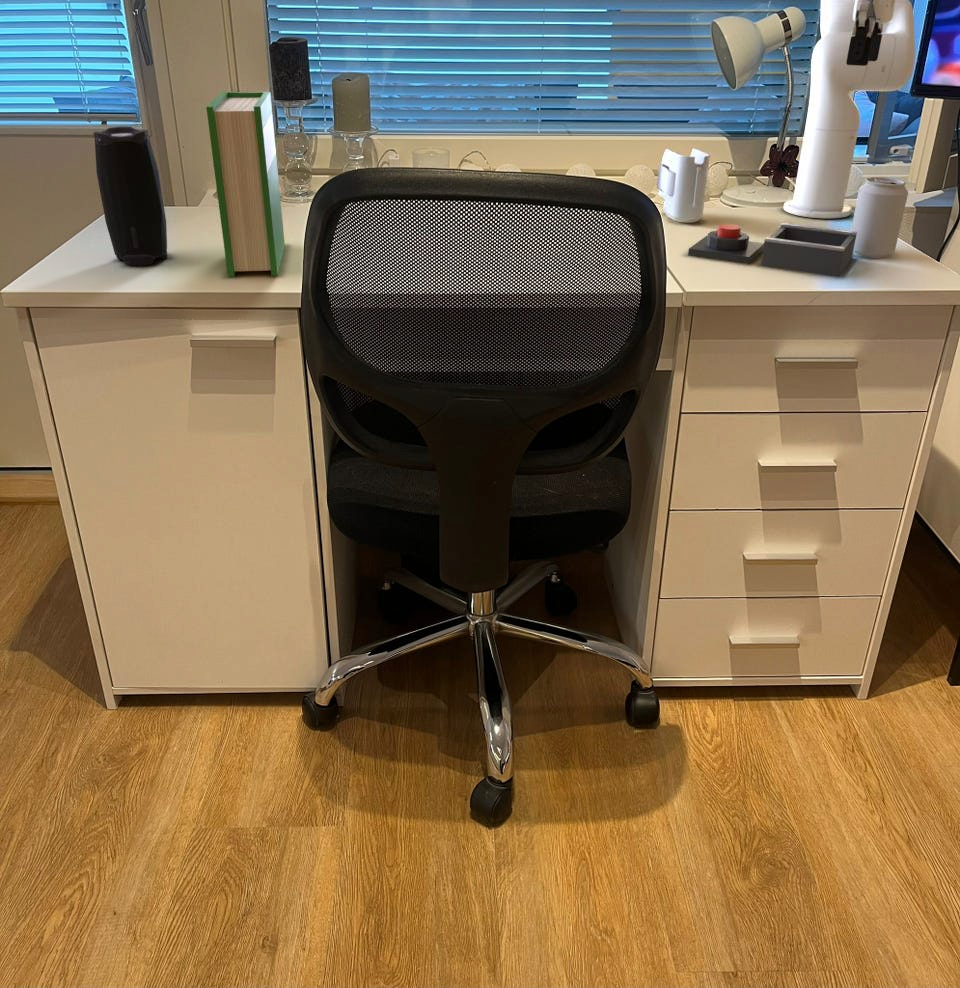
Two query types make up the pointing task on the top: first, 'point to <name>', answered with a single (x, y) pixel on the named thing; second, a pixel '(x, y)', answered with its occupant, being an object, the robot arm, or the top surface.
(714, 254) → the control block
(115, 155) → the portable speaker
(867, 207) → the can
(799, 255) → the grey open tray
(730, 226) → the release button
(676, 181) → the cable organizer
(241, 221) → the hardback book
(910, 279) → the top surface
